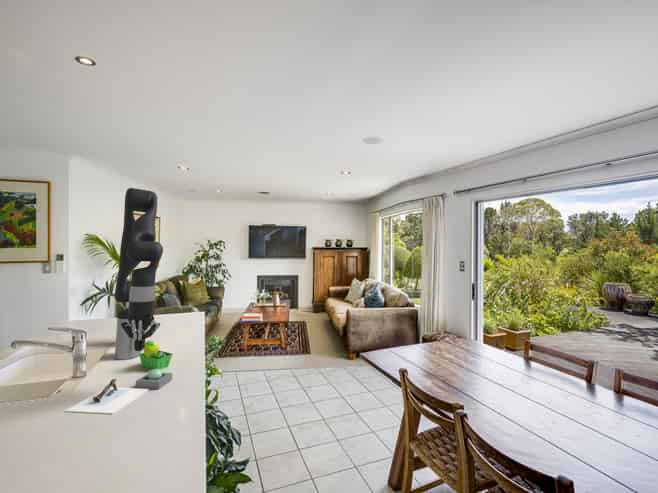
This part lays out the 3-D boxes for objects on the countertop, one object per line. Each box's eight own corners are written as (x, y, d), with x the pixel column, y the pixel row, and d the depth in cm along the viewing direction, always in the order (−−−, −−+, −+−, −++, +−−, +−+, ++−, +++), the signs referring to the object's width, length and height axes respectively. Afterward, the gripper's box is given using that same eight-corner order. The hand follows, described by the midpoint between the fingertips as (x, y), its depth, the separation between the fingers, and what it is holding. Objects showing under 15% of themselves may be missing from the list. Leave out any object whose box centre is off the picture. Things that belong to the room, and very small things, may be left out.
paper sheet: (108, 387, 100) (108, 386, 100) (148, 389, 100) (149, 388, 100) (64, 411, 84) (64, 410, 84) (112, 414, 84) (112, 412, 84)
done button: (152, 376, 106) (152, 368, 107) (164, 377, 106) (164, 368, 106) (144, 381, 102) (144, 373, 102) (156, 382, 102) (157, 373, 102)
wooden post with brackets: (121, 387, 98) (117, 376, 96) (102, 408, 90) (98, 397, 89) (116, 387, 98) (112, 376, 96) (96, 408, 90) (92, 397, 89)
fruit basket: (173, 366, 122) (175, 338, 122) (152, 373, 114) (154, 343, 114) (155, 361, 126) (156, 334, 127) (133, 368, 118) (135, 339, 119)
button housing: (150, 378, 108) (150, 372, 108) (171, 379, 108) (172, 372, 108) (135, 388, 100) (135, 380, 100) (158, 389, 100) (159, 381, 100)
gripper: (167, 298, 105) (164, 348, 104) (131, 297, 106) (128, 346, 105) (153, 301, 97) (150, 355, 97) (115, 299, 98) (111, 352, 97)
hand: (139, 350), depth 101 cm, fingers closed
